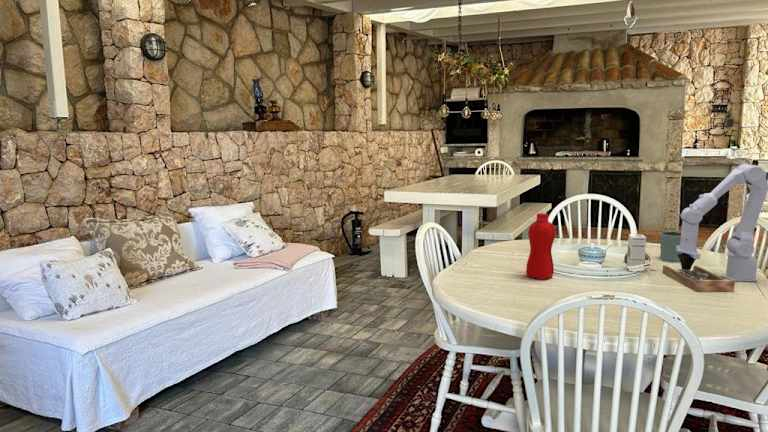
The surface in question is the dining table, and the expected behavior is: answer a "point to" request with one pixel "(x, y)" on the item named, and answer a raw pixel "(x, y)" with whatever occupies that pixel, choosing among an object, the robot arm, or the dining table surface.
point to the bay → (701, 281)
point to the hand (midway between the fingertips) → (685, 272)
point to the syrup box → (636, 249)
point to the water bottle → (540, 248)
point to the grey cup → (670, 246)
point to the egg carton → (693, 274)
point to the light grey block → (645, 257)
